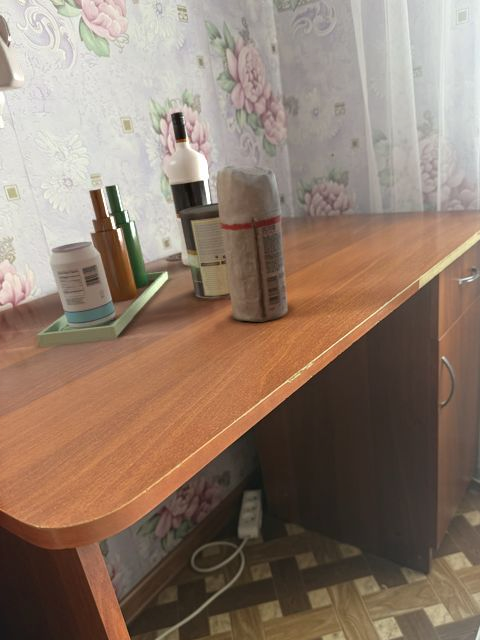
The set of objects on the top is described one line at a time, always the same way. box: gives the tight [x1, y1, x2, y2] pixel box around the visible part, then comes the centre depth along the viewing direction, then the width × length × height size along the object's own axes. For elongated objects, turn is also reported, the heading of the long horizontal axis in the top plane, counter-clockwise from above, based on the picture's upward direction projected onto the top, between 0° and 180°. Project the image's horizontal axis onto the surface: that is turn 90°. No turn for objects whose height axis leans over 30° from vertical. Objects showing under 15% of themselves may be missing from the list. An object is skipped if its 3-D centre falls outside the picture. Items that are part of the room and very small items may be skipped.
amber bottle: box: [88, 187, 139, 303], centre depth 84 cm, size 5×5×18 cm
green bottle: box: [104, 184, 150, 290], centre depth 91 cm, size 5×5×18 cm
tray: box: [36, 270, 169, 348], centre depth 83 cm, size 11×31×2 cm, turn 177°
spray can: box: [215, 165, 289, 323], centre depth 67 cm, size 8×8×20 cm
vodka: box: [165, 111, 213, 266], centre depth 103 cm, size 9×9×30 cm
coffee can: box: [179, 202, 230, 299], centre depth 82 cm, size 10×10×14 cm
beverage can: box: [49, 241, 117, 329], centre depth 73 cm, size 7×7×12 cm
